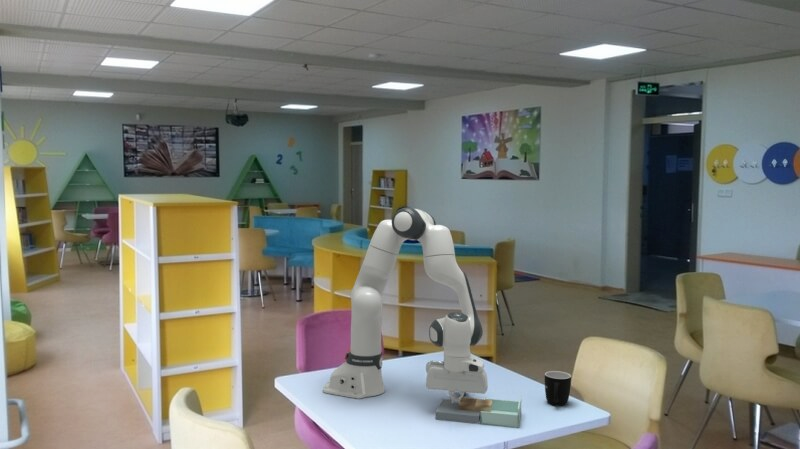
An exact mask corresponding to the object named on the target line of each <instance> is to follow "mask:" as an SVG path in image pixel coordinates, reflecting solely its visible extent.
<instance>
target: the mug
mask: <svg viewBox="0 0 800 449" xmlns="http://www.w3.org/2000/svg"><path fill="white" fill-rule="evenodd" d="M571 386H572V375H571V374H570V373H568V372H565V371H559V370H558V371H557V370H550V371H546V372H545V373H544V392H545V398H546V403H547V404H549V405H552V406H554V407H564V406H566V405H567V404H568V402H569V399H570V394H571V393H570V391H571Z"/></svg>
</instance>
